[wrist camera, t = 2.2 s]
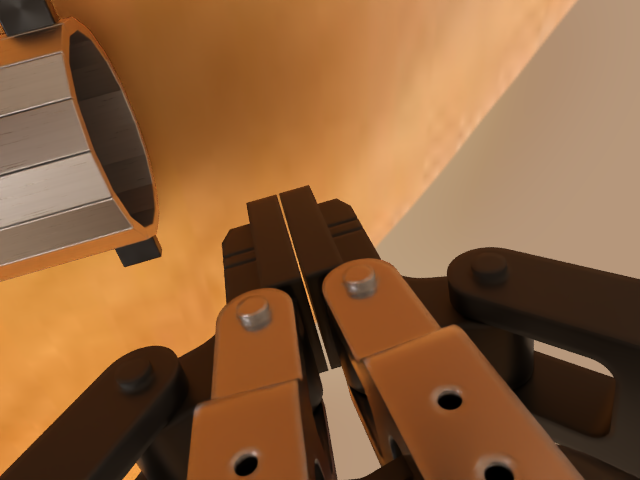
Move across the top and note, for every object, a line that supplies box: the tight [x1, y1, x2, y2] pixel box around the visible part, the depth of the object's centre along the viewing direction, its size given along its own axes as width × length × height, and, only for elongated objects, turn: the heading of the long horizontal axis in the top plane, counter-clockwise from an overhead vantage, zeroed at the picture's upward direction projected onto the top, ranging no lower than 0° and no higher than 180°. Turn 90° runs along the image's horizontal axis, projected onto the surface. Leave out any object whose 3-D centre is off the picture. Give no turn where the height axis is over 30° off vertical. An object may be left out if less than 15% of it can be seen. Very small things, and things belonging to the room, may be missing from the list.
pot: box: [0, 0, 162, 282], centre depth 22 cm, size 9×12×9 cm
